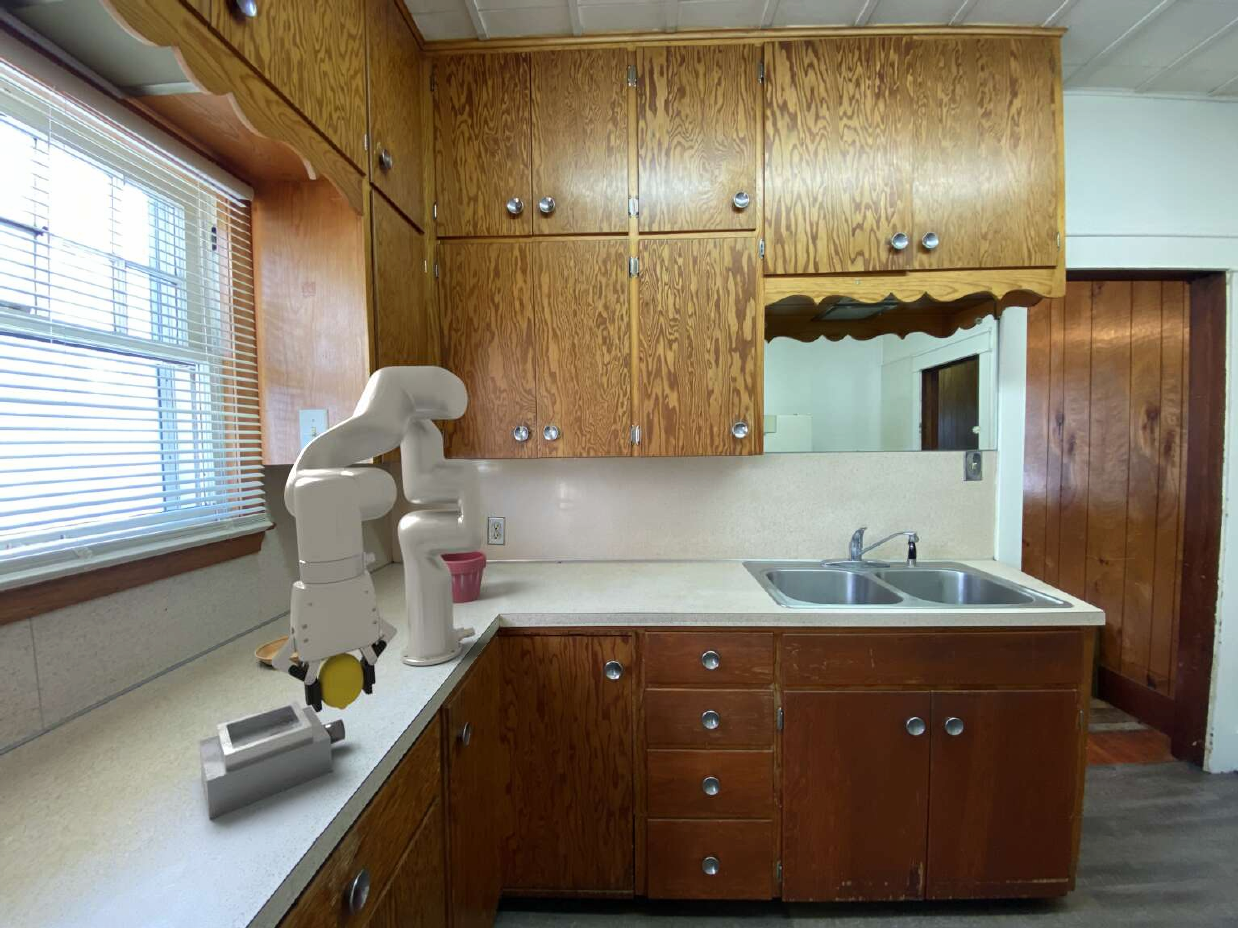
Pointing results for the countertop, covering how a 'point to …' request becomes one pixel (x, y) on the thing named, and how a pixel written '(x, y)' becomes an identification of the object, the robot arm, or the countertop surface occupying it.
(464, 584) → the plant pot
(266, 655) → the plant saucer
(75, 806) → the countertop surface
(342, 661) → the lemon
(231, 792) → the housing
